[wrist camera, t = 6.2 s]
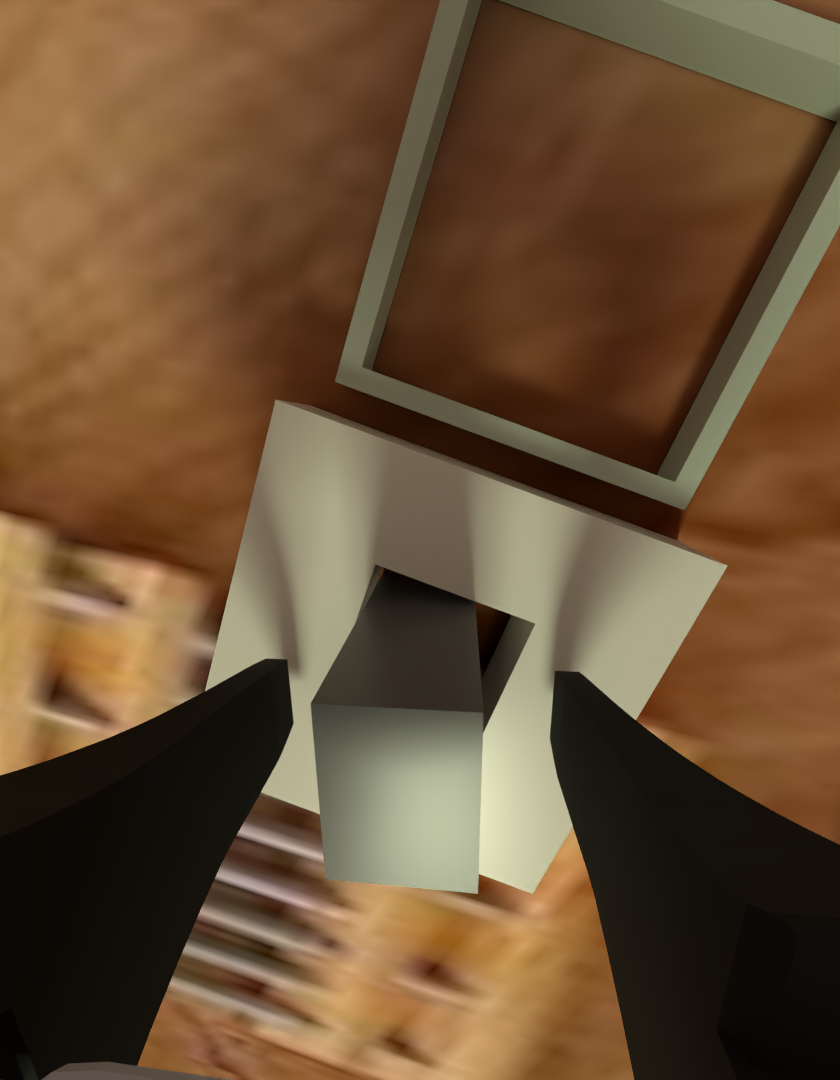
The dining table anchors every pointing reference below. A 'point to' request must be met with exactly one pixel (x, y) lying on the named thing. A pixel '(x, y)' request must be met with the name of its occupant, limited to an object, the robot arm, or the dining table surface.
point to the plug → (403, 742)
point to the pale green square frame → (823, 205)
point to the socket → (466, 570)
